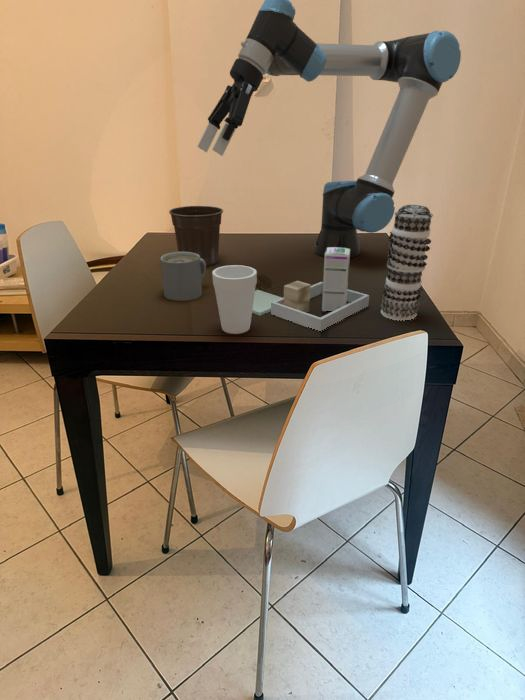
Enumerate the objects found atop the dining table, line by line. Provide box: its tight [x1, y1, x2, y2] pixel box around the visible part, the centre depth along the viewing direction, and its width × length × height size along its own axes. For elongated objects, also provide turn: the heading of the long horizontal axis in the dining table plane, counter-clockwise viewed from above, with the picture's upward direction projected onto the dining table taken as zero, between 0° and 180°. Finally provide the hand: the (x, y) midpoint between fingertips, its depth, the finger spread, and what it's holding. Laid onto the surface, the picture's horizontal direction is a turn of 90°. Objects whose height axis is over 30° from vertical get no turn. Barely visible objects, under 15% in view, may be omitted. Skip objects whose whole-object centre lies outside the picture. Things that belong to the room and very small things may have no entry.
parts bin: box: [270, 281, 370, 332], centre depth 112 cm, size 20×15×3 cm
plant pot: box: [168, 205, 224, 267], centre depth 144 cm, size 16×16×16 cm
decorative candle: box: [380, 204, 434, 322], centre depth 106 cm, size 9×9×25 cm
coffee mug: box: [160, 251, 207, 302], centre depth 121 cm, size 13×10×10 cm
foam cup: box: [212, 264, 258, 335], centre depth 101 cm, size 10×9×13 cm
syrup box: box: [321, 247, 351, 312], centre depth 111 cm, size 6×6×14 cm
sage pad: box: [252, 289, 283, 317], centre depth 117 cm, size 11×11×1 cm
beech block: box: [283, 280, 312, 313], centre depth 110 cm, size 5×4×7 cm
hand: (209, 151), depth 114 cm, fingers open, 13 cm apart
